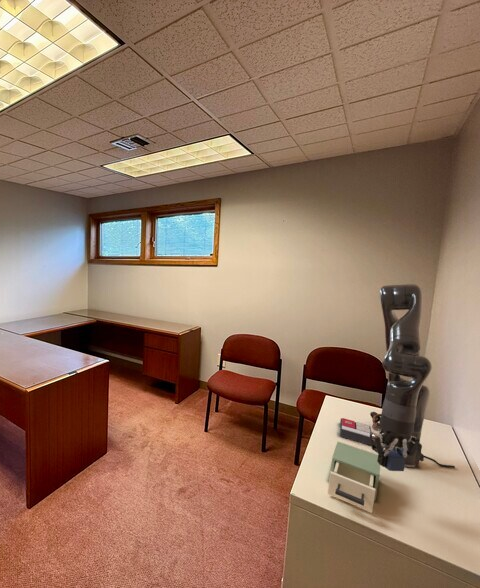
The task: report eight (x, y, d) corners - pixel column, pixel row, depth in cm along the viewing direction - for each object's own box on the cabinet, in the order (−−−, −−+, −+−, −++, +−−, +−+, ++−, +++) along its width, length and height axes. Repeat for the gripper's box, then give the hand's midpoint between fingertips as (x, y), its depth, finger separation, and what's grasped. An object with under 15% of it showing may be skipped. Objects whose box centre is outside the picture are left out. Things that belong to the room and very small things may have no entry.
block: (390, 462, 104) (392, 449, 103) (403, 471, 99) (405, 458, 99) (377, 461, 104) (378, 449, 103) (389, 470, 99) (391, 457, 99)
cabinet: (375, 501, 106) (379, 474, 105) (328, 482, 115) (332, 457, 114) (377, 479, 117) (380, 455, 116) (334, 463, 126) (337, 441, 124)
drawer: (371, 523, 96) (374, 499, 95) (325, 502, 104) (328, 480, 103) (374, 491, 110) (377, 470, 109) (332, 474, 118) (335, 455, 117)
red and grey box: (370, 424, 150) (372, 436, 138) (369, 433, 150) (371, 445, 138) (340, 416, 156) (340, 427, 145) (339, 425, 157) (339, 436, 145)
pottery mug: (402, 434, 149) (402, 422, 146) (383, 442, 150) (382, 430, 147) (378, 415, 161) (377, 404, 157) (360, 423, 161) (359, 412, 158)
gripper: (409, 410, 103) (401, 459, 105) (364, 408, 103) (357, 457, 105) (433, 422, 95) (424, 474, 98) (385, 420, 96) (377, 472, 98)
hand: (390, 465), depth 102 cm, fingers closed on block, 4 cm apart
